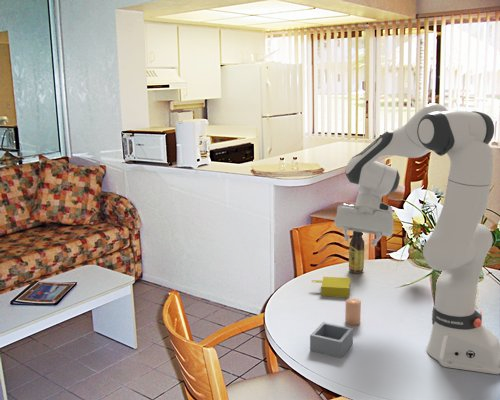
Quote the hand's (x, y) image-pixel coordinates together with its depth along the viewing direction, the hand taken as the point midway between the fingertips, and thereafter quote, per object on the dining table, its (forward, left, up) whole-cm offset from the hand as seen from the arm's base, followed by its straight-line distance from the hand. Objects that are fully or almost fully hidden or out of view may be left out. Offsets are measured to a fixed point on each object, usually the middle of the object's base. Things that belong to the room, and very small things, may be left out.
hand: (359, 242), depth 189 cm
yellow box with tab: (+15, -12, -26) cm, 32 cm away
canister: (-1, +10, -25) cm, 27 cm away
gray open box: (-1, +29, -25) cm, 38 cm away
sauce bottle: (+14, -36, -25) cm, 46 cm away
